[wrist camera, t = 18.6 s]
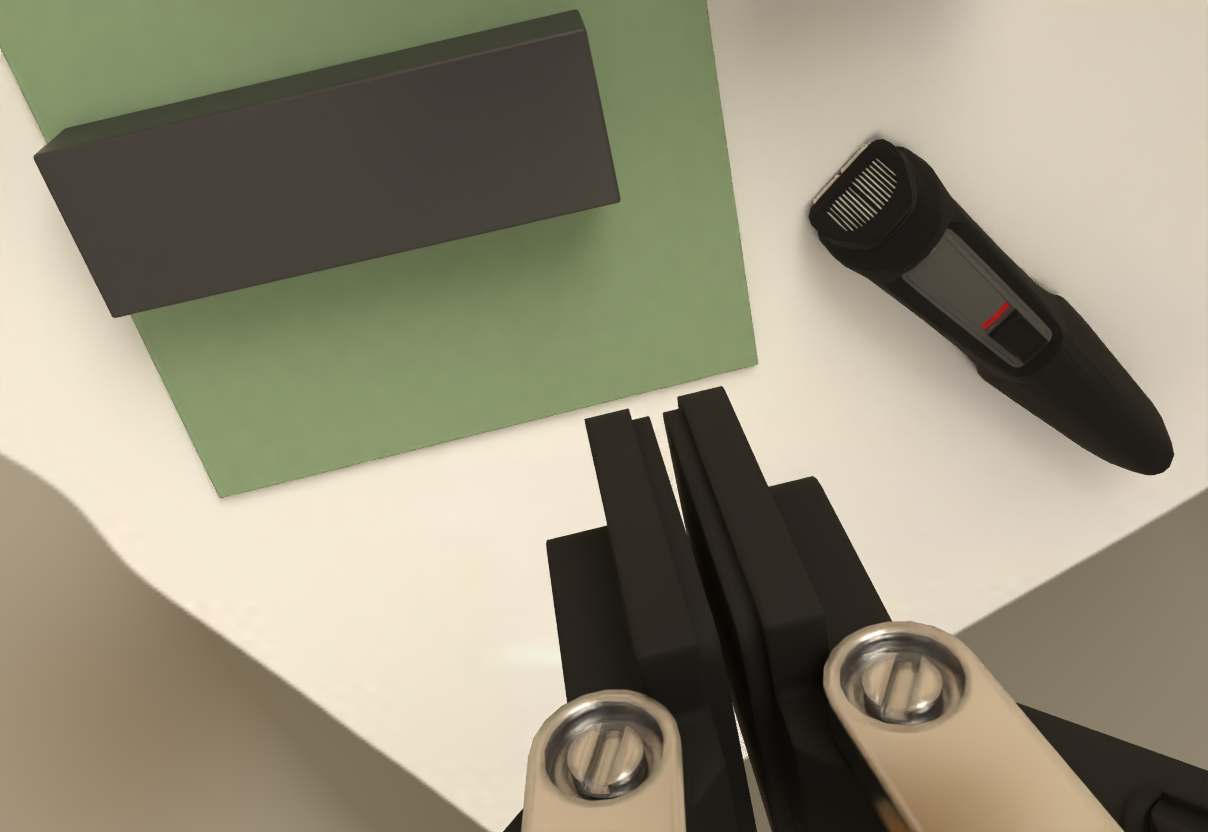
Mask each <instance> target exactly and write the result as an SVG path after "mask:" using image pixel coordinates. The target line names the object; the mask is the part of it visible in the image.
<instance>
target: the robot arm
mask: <svg viewBox="0 0 1208 832" xmlns="http://www.w3.org/2000/svg"><path fill="white" fill-rule="evenodd" d="M677 400H678V407H679V409H676V410H672V411H668V412H664V413H663V418H664V424H665V429H666V434H667V439H668V444H669V448H670V453H671V458H672V463H673V468H674V473H675V478H676V483H677V488H678V493H679V498H680V503H681V508H682V513H683V518H684V523H685V528H686V531H685V528H684V525H683V521H682V518H681V515H680V512H679V509H678V506H677V503H676V499H675V496H674V493H673V490H672V487H671V484H670V480H669V477H668V474H667V471H666V468H665V465H664V461H663V458H662V455H661V452H660V449H659V446H658V443H657V439H656V436H655V433H654V430H653V427H652V424H651V420H650V418H649V416H647V417H643V418H639V419H635V420H632V418H631V415H630V412H629V409H624V410H620V411H616V412H612V413H608V414H604V415H599V416H595V417H591V418H587V419H585V425H586V429H587V434H588V438H589V443H590V448H591V452H592V457H593V461H594V466H595V471H596V475H597V480H598V484H599V489H600V494H601V498H602V503H603V507H604V512H605V517H606V521H607V526H604V527H600V528H595V529H591V530H587V531H583V532H579V533H575V534H571V535H566V536H562V537H558V538H554V539H550V540H547V542H546V547H547V556H548V563H549V571H550V578H551V586H552V593H553V601H554V608H555V615H556V623H557V630H558V638H559V645H560V653H561V660H562V668H563V675H564V682H565V690H566V697H567V704H565V705H563V706H561V707H560V708H559V709H558V710H557V711H556V712H554V713H553V714H552V715H551V716H550V717H549V718H548V719H546V720H545V722H544V723H543V725H542V726H541V728H540V729H539V731H538V732H537V734H536V735H535V737H534V738H533V742H532V745H531V749H530V753H529V756H528V764H527V775H526V785H525V796H524V807H523V809H522V810H521V811H520V813H519V814H518V815H517V816H516V817H515V818H514V820H513V821H512V822H511V823H510V824H509V825H508V827H507V828H506V829H505V830H504V831H503V832H757V829H756V824H755V819H754V814H753V808H752V803H751V799H750V793H749V788H748V783H747V777H746V772H745V767H744V762H743V757H742V752H741V746H740V741H739V736H738V731H737V726H736V721H735V716H734V710H735V714H736V717H737V720H738V723H739V727H740V730H741V733H742V736H743V740H744V743H745V746H746V749H747V753H748V756H749V759H750V762H751V765H752V768H753V772H754V775H755V778H756V782H757V785H758V788H759V791H760V795H761V798H762V801H763V804H764V808H765V811H766V814H767V817H768V820H769V824H770V827H771V830H772V832H1208V771H1207V770H1204V769H1201V768H1199V767H1196V766H1193V765H1190V764H1187V763H1184V762H1182V761H1179V760H1176V759H1173V758H1171V757H1168V756H1165V755H1162V754H1159V753H1156V752H1154V751H1151V750H1148V749H1145V748H1143V747H1140V746H1137V745H1134V744H1131V743H1128V742H1126V741H1123V740H1120V739H1117V738H1114V737H1112V736H1109V735H1106V734H1103V733H1100V732H1098V731H1095V730H1092V729H1089V728H1086V727H1084V726H1081V725H1078V724H1075V723H1072V722H1070V721H1067V720H1064V719H1061V718H1058V717H1056V716H1052V715H1050V714H1047V713H1044V712H1041V711H1039V710H1036V709H1033V708H1030V707H1028V706H1024V705H1022V704H1019V703H1016V702H1014V700H1013V699H1012V698H1011V697H1010V696H1009V695H1008V693H1007V692H1006V691H1005V690H1004V689H1003V688H1002V686H1001V685H1000V684H999V683H998V682H997V680H996V679H995V678H994V677H993V676H992V675H991V673H990V672H989V671H988V670H987V668H986V667H985V666H984V665H983V664H982V663H981V661H980V660H979V659H978V658H977V657H976V656H975V654H974V653H973V652H972V651H971V650H970V649H969V648H968V647H967V646H966V645H964V644H963V643H962V642H961V641H960V640H959V639H957V638H956V637H955V636H953V635H951V634H949V633H947V632H945V631H943V630H941V629H938V628H936V627H934V626H930V625H925V624H920V623H916V622H911V621H909V622H892V620H891V618H890V616H889V615H888V613H887V611H886V609H885V607H884V605H883V603H882V601H881V599H880V597H879V595H878V594H877V592H876V590H875V588H874V586H873V584H872V582H871V580H870V578H869V576H868V574H867V572H866V571H865V569H864V567H863V565H862V563H861V561H860V559H859V557H858V555H857V553H856V551H855V549H854V548H853V546H852V544H851V542H850V540H849V538H848V536H847V534H846V532H845V530H844V528H843V526H842V525H841V523H840V521H839V519H838V517H837V515H836V513H835V511H834V509H833V507H832V505H831V504H830V502H829V500H828V498H827V496H826V494H825V492H824V490H823V488H822V486H821V485H820V483H819V482H818V480H817V479H816V478H815V477H813V476H811V477H807V478H803V479H799V480H795V481H791V482H786V483H782V484H778V485H774V486H770V487H768V485H767V483H766V481H765V478H764V476H763V474H762V472H761V470H760V467H759V465H758V463H757V461H756V458H755V456H754V454H753V452H752V450H751V447H750V445H749V443H748V441H747V438H746V436H745V434H744V432H743V429H742V427H741V425H740V423H739V421H738V418H737V416H736V414H735V412H734V409H733V407H732V405H731V403H730V401H729V398H728V396H727V394H726V392H725V390H724V388H723V387H722V386H720V387H716V388H712V389H708V390H703V391H699V392H695V393H691V394H687V395H683V396H678V398H677ZM686 533H687V534H686ZM732 704H733V705H732ZM733 707H734V710H733Z"/></svg>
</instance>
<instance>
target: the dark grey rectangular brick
mask: <svg viewBox="0 0 1208 832" xmlns="http://www.w3.org/2000/svg"><path fill="white" fill-rule="evenodd" d="M34 160H35V162H36V164H37V166H38V168H39V171H40V173H41V175H42V177H43V179H44V181H45V183H46V185H47V187H48V189H49V191H50V193H51V195H52V197H53V199H54V201H55V203H56V205H57V207H58V209H59V211H60V213H61V215H62V217H63V219H64V221H65V223H66V225H67V227H68V229H69V231H70V233H71V235H72V237H73V239H74V241H75V243H76V245H77V247H78V249H79V251H80V253H81V255H82V257H83V259H84V261H85V263H86V265H87V267H88V269H89V271H90V273H91V275H92V277H93V279H94V281H95V283H96V285H97V287H98V289H99V291H100V293H101V295H102V297H103V299H104V301H105V303H106V305H107V307H108V309H109V311H110V313H111V315H112V317H113V318H117V317H122V316H126V315H130V314H135V313H139V312H143V311H148V310H152V309H156V308H161V307H165V306H170V305H174V304H178V303H183V302H187V301H191V300H196V299H200V298H205V297H209V296H213V295H218V294H222V293H226V292H231V291H235V290H240V289H244V288H248V287H253V286H257V285H261V284H266V283H270V282H275V281H279V280H283V279H288V278H292V277H296V276H301V275H305V274H309V273H314V272H318V271H323V270H327V269H331V268H336V267H340V266H344V265H349V264H353V263H358V262H362V261H366V260H371V259H375V258H379V257H384V256H388V255H393V254H397V253H401V252H406V251H410V250H414V249H419V248H423V247H427V246H432V245H436V244H441V243H445V242H449V241H454V240H458V239H462V238H467V237H471V236H476V235H480V234H484V233H489V232H493V231H497V230H502V229H506V228H511V227H515V226H519V225H524V224H528V223H532V222H537V221H541V220H545V219H550V218H554V217H559V216H563V215H567V214H572V213H576V212H580V211H585V210H589V209H594V208H598V207H602V206H607V205H611V204H615V203H619V202H620V200H621V197H620V193H619V188H618V183H617V178H616V173H615V168H614V163H613V158H612V153H611V148H610V143H609V138H608V134H607V129H606V124H605V119H604V114H603V109H602V104H601V99H600V94H599V89H598V84H597V79H596V74H595V70H594V65H593V60H592V55H591V50H590V45H589V40H588V35H587V30H586V28H585V25H584V22H583V20H582V17H581V15H580V12H579V11H578V10H576V9H575V10H570V11H566V12H562V13H557V14H553V15H549V16H545V17H540V18H536V19H532V20H527V21H523V22H519V23H515V24H510V25H506V26H502V27H497V28H493V29H489V30H485V31H480V32H476V33H472V34H467V35H463V36H459V37H455V38H450V39H446V40H442V41H437V42H433V43H429V44H425V45H420V46H416V47H412V48H407V49H403V50H399V51H395V52H390V53H386V54H382V55H377V56H373V57H369V58H364V59H360V60H356V61H352V62H347V63H343V64H339V65H334V66H330V67H326V68H322V69H317V70H313V71H309V72H304V73H300V74H296V75H292V76H287V77H283V78H279V79H274V80H270V81H266V82H262V83H257V84H253V85H249V86H244V87H240V88H236V89H232V90H227V91H223V92H219V93H214V94H210V95H206V96H202V97H197V98H193V99H189V100H184V101H180V102H176V103H172V104H167V105H163V106H159V107H154V108H150V109H146V110H142V111H137V112H133V113H129V114H124V115H120V116H116V117H111V118H107V119H103V120H99V121H94V122H90V123H86V124H81V125H77V126H73V127H69V128H65V129H64V130H63V131H61V132H60V133H59V134H58V135H57V136H56V137H55V138H53V139H52V140H51V141H50V142H49V143H48V144H47V145H45V146H44V147H43V148H42V149H41V150H40V151H39V152H37V153H36V154H35V155H34Z"/></svg>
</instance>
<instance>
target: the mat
mask: <svg viewBox="0 0 1208 832" xmlns="http://www.w3.org/2000/svg"><path fill="white" fill-rule="evenodd" d="M575 9H576V10H578V11H579V12H580V15H581V17H582V20H583V22H584V25H585V28H586V30H587V35H588V40H589V45H590V50H591V55H592V60H593V65H594V70H595V74H596V79H597V84H598V89H599V94H600V99H601V104H602V109H603V114H604V119H605V124H606V129H607V134H608V138H609V143H610V148H611V153H612V158H613V163H614V168H615V173H616V178H617V183H618V188H619V193H620V197H621V200H620V202H619V203H615V204H611V205H607V206H602V207H598V208H594V209H589V210H585V211H580V212H576V213H572V214H567V215H563V216H559V217H554V218H550V219H545V220H541V221H537V222H532V223H528V224H524V225H519V226H515V227H511V228H506V229H502V230H497V231H493V232H489V233H484V234H480V235H476V236H471V237H467V238H462V239H458V240H454V241H449V242H445V243H441V244H436V245H432V246H427V247H423V248H419V249H414V250H410V251H406V252H401V253H397V254H393V255H388V256H384V257H379V258H375V259H371V260H366V261H362V262H358V263H353V264H349V265H344V266H340V267H336V268H331V269H327V270H323V271H318V272H314V273H309V274H305V275H301V276H296V277H292V278H288V279H283V280H279V281H275V282H270V283H266V284H261V285H257V286H253V287H248V288H244V289H240V290H235V291H231V292H226V293H222V294H218V295H213V296H209V297H205V298H200V299H196V300H191V301H187V302H183V303H178V304H174V305H170V306H165V307H161V308H156V309H152V310H148V311H143V312H139V313H135V314H130V315H131V317H132V319H133V321H134V323H135V325H136V327H137V329H138V331H139V333H140V335H141V337H142V339H143V341H144V344H145V346H146V348H147V350H148V352H149V354H150V356H151V358H152V360H153V362H154V364H155V366H156V368H157V370H158V372H159V374H160V376H161V378H162V381H163V383H164V385H165V387H166V389H167V391H168V393H169V395H170V397H171V399H172V401H173V403H174V405H175V407H176V409H177V411H178V413H179V415H180V418H181V420H182V422H183V424H184V426H185V428H186V430H187V432H188V434H189V436H190V438H191V440H192V442H193V444H194V446H195V448H196V450H197V452H198V455H199V457H200V459H201V461H202V463H203V465H204V467H205V469H206V471H207V473H208V475H209V477H210V479H211V481H212V483H213V485H214V487H215V489H216V492H217V494H218V496H219V498H223V497H227V496H231V495H235V494H239V493H243V492H247V491H251V490H255V489H259V488H263V487H267V486H271V485H275V484H279V483H283V482H287V481H291V480H295V479H299V478H303V477H307V476H311V475H315V474H319V473H323V472H327V471H331V470H335V469H340V468H344V467H348V466H352V465H356V464H360V463H364V462H368V461H372V460H376V459H380V458H384V457H388V456H392V455H396V454H400V453H404V452H408V451H412V450H416V449H420V448H424V447H428V446H432V445H436V444H440V443H444V442H448V441H452V440H456V439H460V438H464V437H468V436H472V435H476V434H480V433H484V432H488V431H492V430H496V429H500V428H504V427H508V426H512V425H516V424H520V423H524V422H528V421H532V420H536V419H540V418H544V417H548V416H552V415H556V414H561V413H565V412H569V411H573V410H577V409H581V408H585V407H589V406H593V405H597V404H601V403H605V402H609V401H613V400H617V399H621V398H625V397H629V396H633V395H637V394H641V393H645V392H649V391H653V390H657V389H661V388H665V387H669V386H673V385H677V384H681V383H685V382H689V381H693V380H697V379H701V378H705V377H709V376H713V375H717V374H721V373H725V372H729V371H733V370H737V369H741V368H745V367H749V366H753V365H757V364H758V359H757V352H756V345H755V338H754V331H753V324H752V317H751V310H750V303H749V296H748V289H747V283H746V276H745V269H744V262H743V255H742V248H741V241H740V234H739V227H738V220H737V213H736V206H735V199H734V192H733V185H732V178H731V171H730V164H729V157H728V150H727V143H726V136H725V129H724V123H723V116H722V109H721V102H720V95H719V88H718V81H717V74H716V67H715V60H714V53H713V46H712V39H711V32H710V25H709V18H708V11H707V4H706V0H0V48H1V50H2V52H3V54H4V56H5V58H6V60H7V62H8V64H9V66H10V68H11V70H12V72H13V74H14V76H15V78H16V80H17V83H18V85H19V87H20V89H21V91H22V93H23V95H24V97H25V99H26V101H27V103H28V105H29V107H30V109H31V111H32V113H33V115H34V117H35V120H36V122H37V124H38V126H39V128H40V130H41V132H42V134H43V136H44V138H45V140H46V142H47V144H48V143H49V142H50V141H51V140H52V139H53V138H55V137H56V136H57V135H58V134H59V133H60V132H61V131H63V130H64V129H65V128H69V127H73V126H77V125H81V124H86V123H90V122H94V121H99V120H103V119H107V118H111V117H116V116H120V115H124V114H129V113H133V112H137V111H142V110H146V109H150V108H154V107H159V106H163V105H167V104H172V103H176V102H180V101H184V100H189V99H193V98H197V97H202V96H206V95H210V94H214V93H219V92H223V91H227V90H232V89H236V88H240V87H244V86H249V85H253V84H257V83H262V82H266V81H270V80H274V79H279V78H283V77H287V76H292V75H296V74H300V73H304V72H309V71H313V70H317V69H322V68H326V67H330V66H334V65H339V64H343V63H347V62H352V61H356V60H360V59H364V58H369V57H373V56H377V55H382V54H386V53H390V52H395V51H399V50H403V49H407V48H412V47H416V46H420V45H425V44H429V43H433V42H437V41H442V40H446V39H450V38H455V37H459V36H463V35H467V34H472V33H476V32H480V31H485V30H489V29H493V28H497V27H502V26H506V25H510V24H515V23H519V22H523V21H527V20H532V19H536V18H540V17H545V16H549V15H553V14H557V13H562V12H566V11H570V10H575Z"/></svg>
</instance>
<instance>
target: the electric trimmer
mask: <svg viewBox="0 0 1208 832" xmlns="http://www.w3.org/2000/svg"><path fill="white" fill-rule="evenodd" d="M867 141H868V140H867ZM868 143H869V145H866V144H864V146H863V145H862V147H863V148H860V149H861V150H859V149H858V150H859V152H857V154H856V153H855V155H856V156H853V157H854V158H853V157H851V158H852V160H850V161H848V163H849V164H847V163H846V165H844V166H845V167H843V169H841V168H840V169H841V171H840V172H841V175H836V176H834V179H833V178H832V180H833V181H832V180H830V181H831V183H830V182H829V184H827V183H826V184H827V186H828V187H826V186H825V188H824V187H823V189H824V190H822V192H821V191H820V194H819V196H818V195H816V196H817V198H816V197H815V199H813V202H814V205H813V206H812V207H811V209H810V213H809V220H810V222H811V225H812V226H813V227H814V228H815V229H816V230H817V231H818V236H819V239H820V241H821V242H822V244H823V245H824V246H825V247H826V248H827V250H828V251H829V252H830V253H831V254H832V256H834V257H835V258H836V259H837V260H838V261H839V262H841V263H842V264H843V265H844V266H845V267H847V268H849V269H851V270H853V271H855V272H857V273H859V274H860V275H862V276H864V277H866V278H868V279H869V280H871V281H872V282H873V283H875V284H876V285H877V286H879V287H880V288H881V289H883V290H884V291H885V292H887V293H888V294H889V295H891V296H892V297H893V298H895V299H896V300H897V301H899V302H900V303H901V304H903V305H904V306H905V307H907V308H908V309H909V310H911V311H912V312H913V313H915V314H916V315H917V316H919V317H920V318H921V319H923V320H924V321H925V322H926V323H928V324H929V325H930V326H931V327H933V328H934V329H935V330H936V331H938V332H939V333H940V334H942V335H943V336H944V337H945V338H947V339H948V340H949V341H950V342H952V343H953V344H954V345H956V346H957V347H958V348H959V349H960V350H961V351H962V352H963V353H965V354H966V355H967V356H968V357H969V358H970V359H971V360H972V361H973V363H974V364H975V365H976V368H977V371H978V373H979V375H980V376H981V377H982V378H983V379H984V380H985V381H987V382H988V383H989V384H991V385H992V386H994V387H995V388H996V389H998V390H999V391H1001V392H1002V393H1003V394H1005V395H1006V396H1008V397H1009V398H1010V399H1012V400H1013V401H1015V402H1016V403H1018V404H1019V405H1021V406H1022V407H1024V408H1025V409H1027V410H1028V411H1029V412H1031V413H1032V414H1034V415H1035V416H1037V417H1038V418H1040V419H1041V420H1043V421H1044V422H1046V423H1047V424H1049V425H1050V426H1052V427H1053V428H1055V429H1056V430H1057V431H1059V432H1060V433H1062V434H1063V435H1065V436H1066V437H1068V438H1069V439H1071V440H1072V441H1074V442H1075V443H1077V444H1078V445H1080V446H1081V447H1082V448H1084V449H1086V450H1087V451H1089V452H1091V453H1093V454H1094V455H1096V456H1098V457H1099V458H1101V459H1103V460H1105V461H1107V462H1109V463H1111V464H1114V465H1117V466H1119V467H1122V468H1125V469H1127V470H1130V471H1133V472H1137V473H1140V474H1144V475H1156V474H1160V473H1163V472H1164V471H1165V470H1166V469H1168V468H1169V467H1170V464H1171V462H1172V459H1173V457H1174V451H1173V447H1172V442H1171V440H1170V437H1169V435H1168V432H1167V429H1166V427H1165V424H1164V422H1163V419H1162V417H1161V415H1160V414H1159V412H1158V411H1157V409H1156V408H1155V406H1154V404H1153V403H1152V402H1151V401H1150V399H1149V398H1148V397H1147V396H1146V394H1145V393H1144V392H1143V391H1142V390H1141V388H1140V387H1139V386H1138V385H1137V384H1136V382H1135V381H1134V380H1133V379H1132V377H1131V376H1130V375H1129V374H1128V373H1127V371H1126V370H1125V369H1124V368H1123V367H1122V365H1121V364H1120V363H1119V362H1118V360H1117V359H1116V358H1115V357H1114V356H1113V354H1112V353H1111V352H1110V351H1109V349H1108V348H1107V347H1106V346H1105V345H1104V343H1103V342H1102V341H1101V340H1100V339H1099V337H1098V336H1097V335H1096V334H1095V332H1094V331H1093V330H1092V329H1091V328H1090V326H1089V325H1088V324H1087V323H1086V322H1085V320H1084V319H1083V318H1082V317H1081V316H1080V315H1079V314H1078V313H1077V312H1076V311H1075V310H1074V308H1073V307H1072V306H1071V305H1070V304H1069V303H1068V302H1067V301H1066V300H1065V299H1064V298H1062V297H1061V296H1058V295H1053V294H1050V293H1048V292H1047V291H1045V290H1044V289H1042V288H1041V287H1039V286H1038V285H1037V284H1036V283H1035V282H1034V281H1033V280H1032V279H1031V278H1030V277H1029V276H1028V275H1027V274H1026V273H1025V272H1024V271H1023V270H1021V269H1020V268H1019V267H1018V266H1017V265H1016V264H1015V263H1014V262H1013V261H1012V260H1011V259H1010V258H1009V257H1008V256H1007V255H1006V254H1005V253H1004V252H1003V251H1002V250H1001V249H1000V248H999V247H998V246H997V245H996V243H995V242H994V241H993V240H992V239H991V238H990V237H989V236H988V235H987V234H986V233H985V232H984V231H983V230H982V229H981V228H980V227H979V226H978V225H977V223H976V222H975V221H974V220H973V219H972V218H971V217H970V216H969V215H968V214H967V213H966V212H965V211H964V210H963V209H962V208H961V207H960V206H959V205H958V203H957V202H956V201H955V200H954V199H953V198H952V197H951V196H950V195H949V193H948V192H947V190H946V189H945V187H944V186H943V184H942V182H941V181H940V179H939V178H938V176H937V175H936V173H935V172H934V170H933V169H932V167H930V166H929V165H928V164H927V163H926V162H925V161H924V160H923V159H921V158H920V157H918V156H917V155H915V154H914V153H912V152H911V151H910V150H908V149H906V148H904V147H899V146H896V147H895V146H894V145H893V144H892V143H890V142H888V141H886V140H884V139H880V140H875V141H873V142H871V143H870V142H869V141H868Z"/></svg>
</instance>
